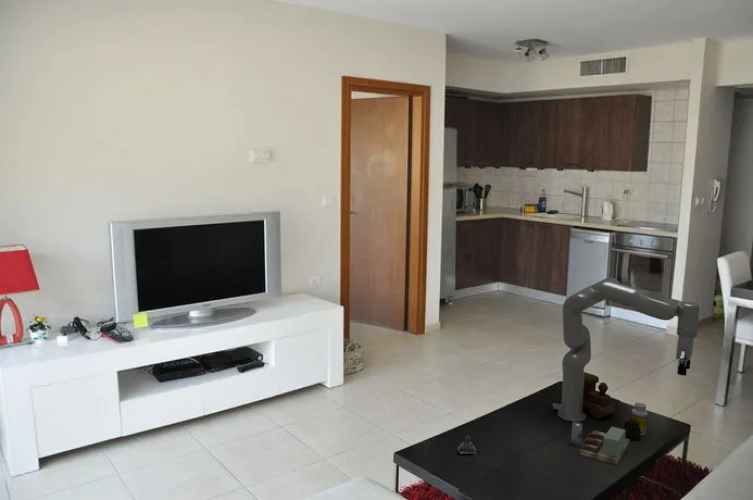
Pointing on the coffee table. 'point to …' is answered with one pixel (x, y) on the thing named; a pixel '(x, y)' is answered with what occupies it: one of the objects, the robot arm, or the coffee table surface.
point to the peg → (576, 433)
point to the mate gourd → (632, 428)
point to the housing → (614, 442)
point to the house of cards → (469, 449)
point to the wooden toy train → (596, 397)
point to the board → (599, 448)
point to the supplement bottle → (640, 416)
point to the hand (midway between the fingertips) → (683, 371)
